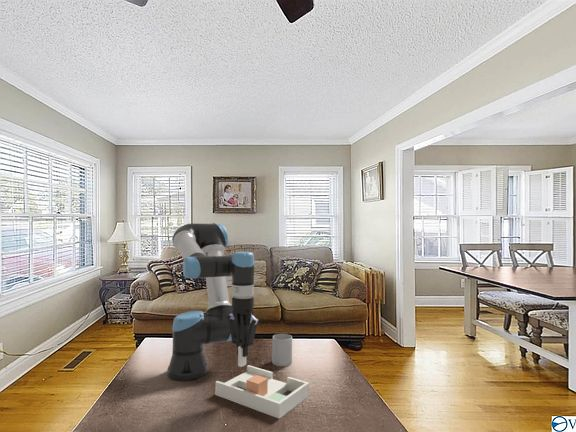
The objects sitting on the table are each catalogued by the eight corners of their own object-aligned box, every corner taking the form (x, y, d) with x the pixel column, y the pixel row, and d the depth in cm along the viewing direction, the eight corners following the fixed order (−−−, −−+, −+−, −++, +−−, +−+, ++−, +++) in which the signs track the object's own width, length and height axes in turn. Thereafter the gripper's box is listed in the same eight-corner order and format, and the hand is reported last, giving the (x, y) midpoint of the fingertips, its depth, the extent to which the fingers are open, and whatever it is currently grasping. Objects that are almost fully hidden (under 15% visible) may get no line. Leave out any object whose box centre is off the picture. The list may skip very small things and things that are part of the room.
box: (215, 394, 127) (215, 381, 127) (248, 376, 142) (248, 365, 142) (279, 418, 112) (279, 403, 112) (309, 395, 127) (309, 382, 127)
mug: (288, 367, 152) (289, 340, 152) (269, 365, 154) (269, 338, 154) (296, 357, 163) (296, 332, 163) (278, 355, 166) (278, 330, 166)
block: (246, 395, 122) (246, 380, 122) (255, 389, 126) (255, 374, 126) (258, 399, 119) (258, 383, 119) (267, 393, 123) (267, 378, 123)
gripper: (221, 296, 128) (220, 364, 127) (250, 300, 121) (250, 373, 120) (235, 293, 134) (235, 358, 134) (264, 297, 127) (263, 365, 127)
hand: (242, 365), depth 127 cm, fingers closed
